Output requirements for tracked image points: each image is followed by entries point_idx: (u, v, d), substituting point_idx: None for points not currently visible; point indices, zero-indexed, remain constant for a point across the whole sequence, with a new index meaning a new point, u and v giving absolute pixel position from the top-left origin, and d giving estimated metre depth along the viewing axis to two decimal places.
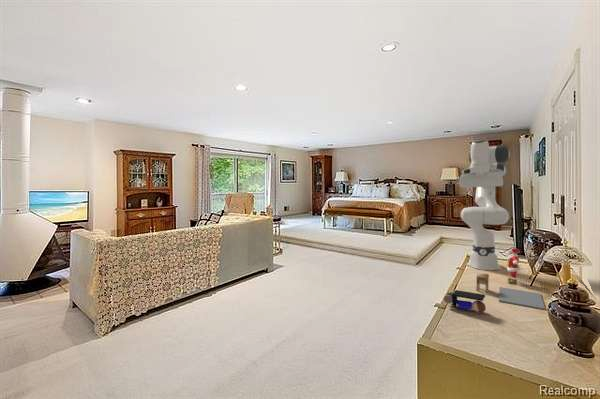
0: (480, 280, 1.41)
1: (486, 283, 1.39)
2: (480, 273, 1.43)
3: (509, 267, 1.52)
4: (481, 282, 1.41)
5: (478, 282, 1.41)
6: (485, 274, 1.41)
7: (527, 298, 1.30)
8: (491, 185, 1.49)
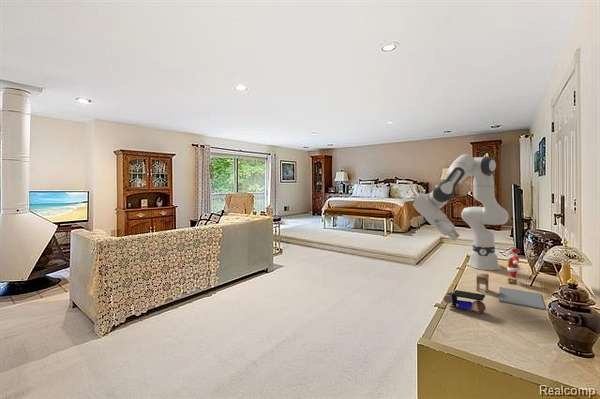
0: (480, 280, 1.41)
1: (486, 283, 1.39)
2: (480, 273, 1.43)
3: (509, 267, 1.52)
4: (481, 282, 1.41)
5: (478, 282, 1.41)
6: (485, 274, 1.41)
7: (527, 298, 1.30)
8: None
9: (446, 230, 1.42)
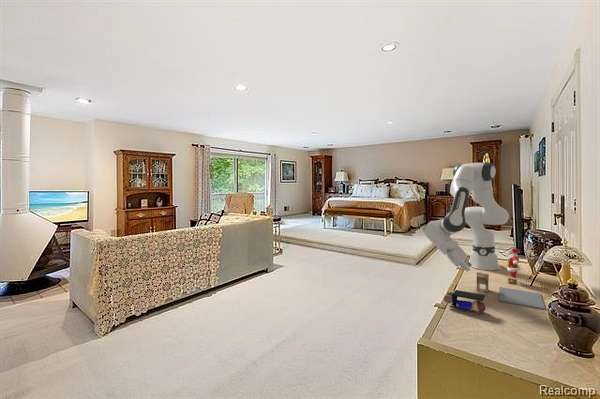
0: (480, 280, 1.41)
1: (486, 283, 1.39)
2: (480, 273, 1.43)
3: (509, 267, 1.52)
4: (481, 282, 1.41)
5: (478, 282, 1.41)
6: (485, 274, 1.41)
7: (527, 298, 1.30)
8: None
9: (459, 261, 1.39)
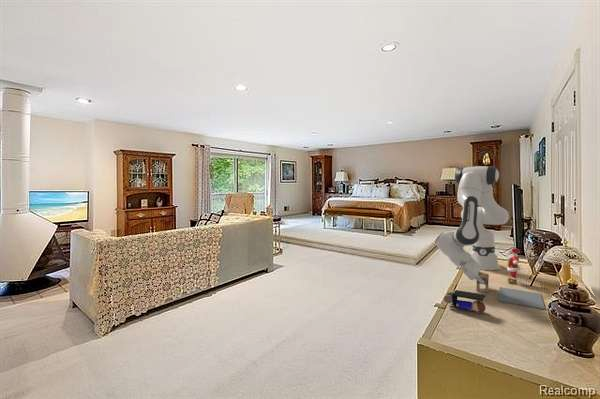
0: None
1: (486, 283, 1.39)
2: (480, 273, 1.43)
3: (509, 267, 1.52)
4: None
5: (478, 282, 1.41)
6: (485, 274, 1.41)
7: (527, 298, 1.30)
8: None
9: (473, 275, 1.36)
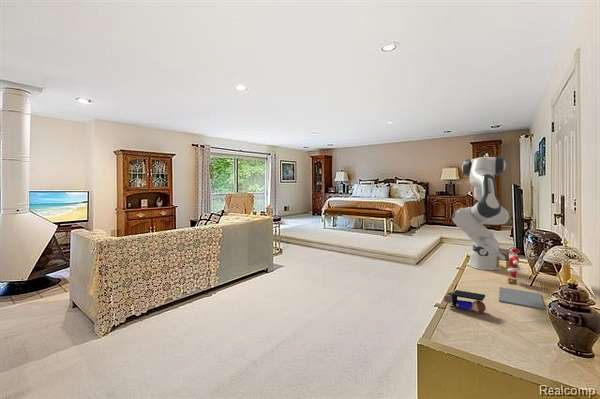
0: None
1: (507, 259, 1.33)
2: (500, 249, 1.36)
3: (509, 267, 1.52)
4: None
5: (498, 258, 1.35)
6: (506, 250, 1.35)
7: (527, 298, 1.30)
8: None
9: (494, 249, 1.29)
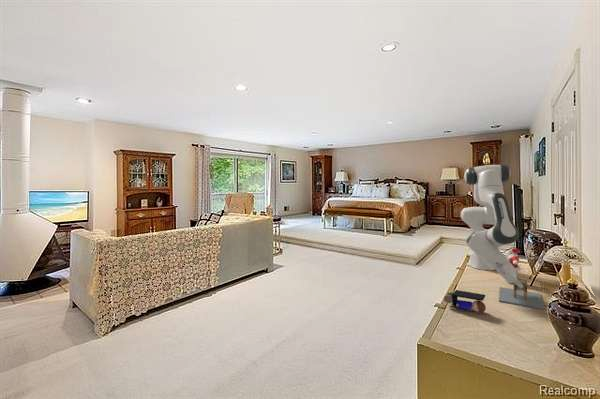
0: None
1: (525, 289, 1.29)
2: (517, 278, 1.32)
3: None
4: (519, 288, 1.30)
5: (516, 288, 1.31)
6: (523, 279, 1.30)
7: (527, 298, 1.30)
8: None
9: (512, 278, 1.25)
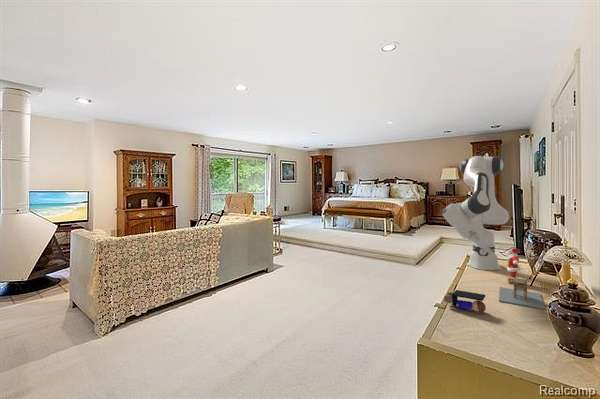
0: (518, 286, 1.30)
1: (525, 289, 1.29)
2: (517, 278, 1.32)
3: (509, 267, 1.52)
4: (519, 288, 1.30)
5: (516, 288, 1.31)
6: (523, 279, 1.30)
7: (527, 298, 1.30)
8: (480, 247, 1.37)
9: (485, 243, 1.32)
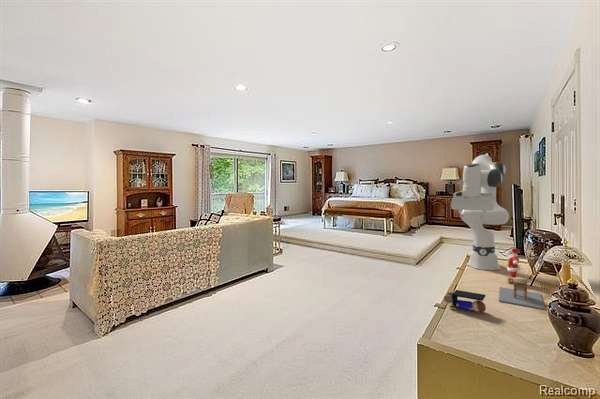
0: (518, 286, 1.30)
1: (525, 289, 1.29)
2: (517, 278, 1.32)
3: (509, 267, 1.52)
4: (519, 288, 1.30)
5: (516, 288, 1.31)
6: (523, 279, 1.30)
7: (527, 298, 1.30)
8: (482, 209, 1.51)
9: None
